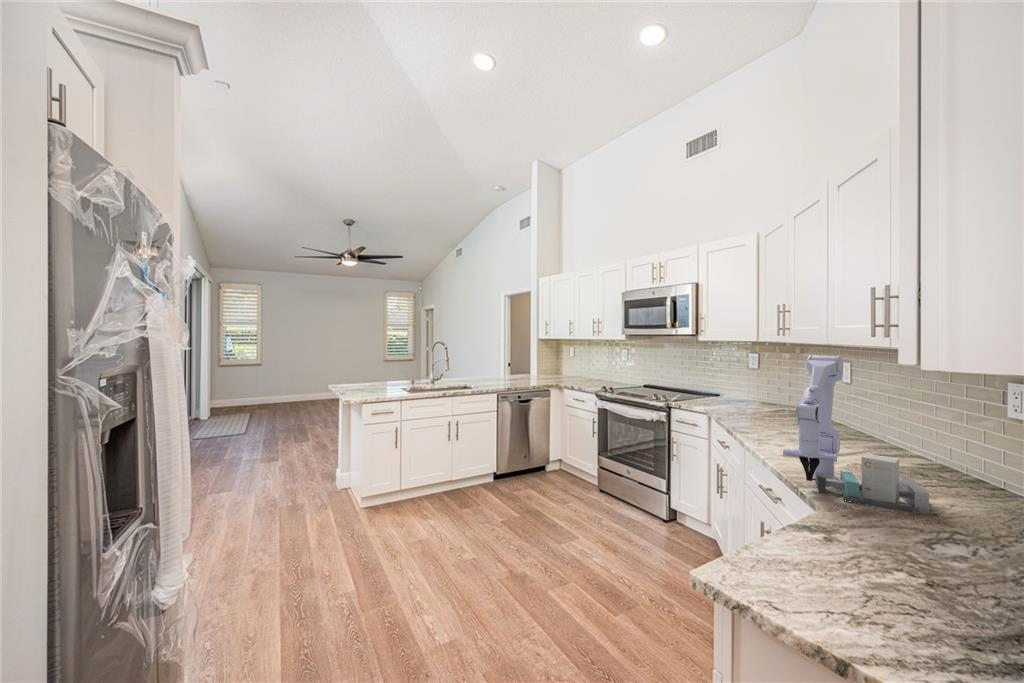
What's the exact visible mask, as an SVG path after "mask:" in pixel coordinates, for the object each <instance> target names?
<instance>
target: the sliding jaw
mask: <svg viewBox="0 0 1024 683" xmlns="http://www.w3.org/2000/svg"><path fill="white" fill-rule="evenodd" d="M859 484H860V482H859V481H858V479H857V478H856V476H855V475H854V473H853V472H850V471H842V470H840V480H839V479H837V480H834V479H826V478H825V476H824V474H823V473H819V472H816V479H815V486H816V488H817V490H818V491H827V489H826V486H828V487H835V488H840V489H841V491H842V492H843V495H846V496H853V497H859V498H860V490H859Z"/></svg>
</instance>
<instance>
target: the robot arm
mask: <svg viewBox="0 0 1024 683" xmlns="http://www.w3.org/2000/svg"><path fill="white" fill-rule="evenodd" d="M806 368H807V370H808V374H809V376H810V382H809V386H807V387H805V388H804V390H803V395H802V398H801V400H800V404H799V403H798V404H796V409H795V417H796V424H797V425H798V449H787V448H783V449H782V456H783V457H793V458H794V457H795V458H798V460H800V463H801V466H802V467H803V470H804V473H805V478H806V481H809V482H813V480H816V472H819V473H823V474H824V476H825V478H826V479H834V480H838V479H837V477H836V475H835V463H838V456H837V455H838V454H839V453H840V450H841V439H840V438H841V434H840V433H839V431H838V430H836V429H835V428H834V427H833V426H832V415H833V403H834V392H835V391H834V390H835V386H836V382H838V381H841V380H842V378H843V372H844V359H843V357H842V356H841V355H813V354H809V356H808V357H807V359H806Z"/></svg>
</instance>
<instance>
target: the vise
mask: <svg viewBox="0 0 1024 683" xmlns="http://www.w3.org/2000/svg"><path fill="white" fill-rule="evenodd" d="M859 491H862V484H860V483H859ZM899 497H901V499H902V500H903V501H904V502H905V503H900V502H898V503H893V502H886V501H879V500H873V499H866V498H862V497H860V496H859V497H853V496H846V495H844V494H843V495H842V498H843V499H844V500H846V501H851V502H850V503H852V502H856V503H855V504H858V503H861V504H860V505H865V504H868V505H867V506H871V505H873V506H872V507H878V508H883V509H884V508H885V509H890V510H899V511H904V512H911V513H917V514H923V513H924V515H930V493H929V492H928V491H927V490H926V489H925V488H923V486H921V485H920V484H919V483H918V482H917V480H915V479H914V478H913V477H912V476H902V475H899ZM843 499H842V500H843ZM844 500H843V501H844ZM846 501H845V502H846Z"/></svg>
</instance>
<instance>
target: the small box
mask: <svg viewBox="0 0 1024 683" xmlns="http://www.w3.org/2000/svg"><path fill="white" fill-rule="evenodd" d="M860 460H861V485H862V490H861V498H866V499H873V500H879V501H886V502H893V503H899V501H900V496H899V476H900V459H899V458H895V457H889V456H884V455H883V456H882V455H876V454H870V453H865V454H864V455H862V456H861V459H860Z"/></svg>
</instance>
